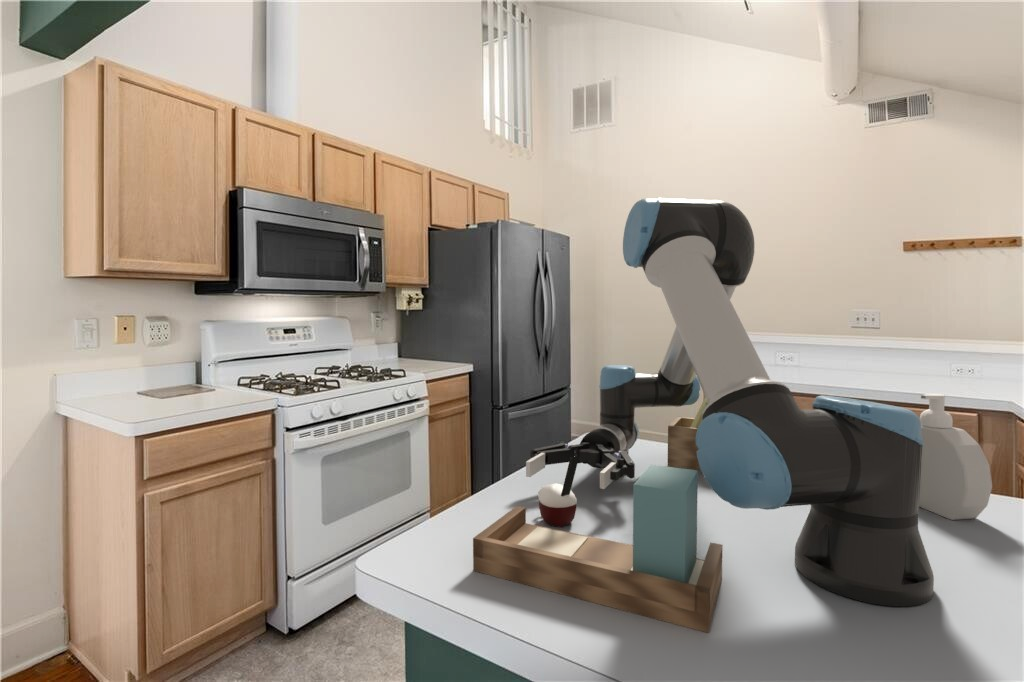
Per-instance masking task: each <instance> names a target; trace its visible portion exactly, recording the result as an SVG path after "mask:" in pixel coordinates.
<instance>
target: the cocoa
mask: <svg viewBox="0 0 1024 682" xmlns="http://www.w3.org/2000/svg"><path fill="white" fill-rule="evenodd" d="M578 460H579V457H575V456H574V457H571V458H570V461H569V462H568V466H567V469H566V473H565V478H564V482H563V484H560V483H556V482H555V483H549V484H547V485H544V486H541V488H540V489H539V490H538V492H537V494H538V495H537V496H538V509H539V513H540V516H541V518H542V519H543V521H544V522H545V523H547V525H549V524H550V526H552V525H553V527H564V525H565V526H568V525H569V524H570V523H572V522H573V521H574V519H575V516H576V512H577V504H578V503H577V502H578V501H577V500H578V499H577V497H576V495H575V493H574V492H573V491H572V488H573V487H572V486H573V483H574V479H575V475H576V470H577V466H578V464H579V463H578ZM577 463H578V464H577Z"/></svg>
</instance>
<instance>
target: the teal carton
mask: <svg viewBox="0 0 1024 682" xmlns="http://www.w3.org/2000/svg"><path fill="white" fill-rule="evenodd" d="M698 477H699V470H694V469H686V468H679V467H671V466H665V465H656V464H649V466H648V467H647V468H646V469H645V471H644V472H643V473H642V474H641V475H640V476H639V478H638V479H636V481H635V482H634V483H633V489H632V492H633V496H632V497H633V498H632V499H633V500H632V501H633V502H632V503H633V504H632V512H633V513H632V516H633V517H632V518H633V519H632V521H633V522H632V545H633V571H636V572H641V573H645V574H650V575H654V576H658V577H663V578H667V579H672V580H676V581H680V582H685V583H689V580H690V577H691V574H692V572H693V569H694V566H695V563H696V558H697V549H698V548H697V546H698V545H697V544H698V543H697V542H698V541H697V540H698V539H697V538H698V533H697V532H698V486H699V485H698V484H699V482H698V481H699V478H698Z"/></svg>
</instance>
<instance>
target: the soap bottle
mask: <svg viewBox="0 0 1024 682" xmlns="http://www.w3.org/2000/svg"><path fill="white" fill-rule="evenodd" d="M945 397H946V395H945V394H940V393H927V394H921V395H920V399H921V400H928V401H929V403H928V405H929V406H928V409H925V410H923V411H922V412H921V413H920V415H919V418H920V421H921V435H922V441H923V447H922V458H921V476H920V495H919V508H921V509H924V510H926V511H929V512H931V513H933V514H936V515H938V516H941V517H944V518H945V519H948V520H949V521H954V520H955V521H957V520H970V519H977V517H979V515H980V514H982V512H983V511H984V510H985V509H986V508H987V507H988V504H989V500H990V497H991V494H992V490H993V482H992V475H991V474H992V473H991V467H990V464H989V461H988V459H987V457H986V455H985V453H984V451H983V449H982V447H981V445H980V444H979V442H977V441H976V440H975V439H974V438H973V437H972V435H971V434H969V433H968V432H967V431H966V430H965V429H963V428H958V427H953V421H954V419H953V416H952V415H951V413H950V412H947V411H945V400H946V399H945Z"/></svg>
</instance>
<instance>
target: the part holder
mask: <svg viewBox="0 0 1024 682" xmlns="http://www.w3.org/2000/svg"><path fill="white" fill-rule="evenodd" d="M694 419H695V417H683V416H677V417H676V418H675V419H673V420H672V421H671V423H670V424H668V425H667V467H674V468H682V469H689V470H697V471H701V468H700V465H699V462H698V458H697V453H696V452H697V451H698V450H699V449H698V446H697V445H696V433H697V430H698V428H692V427H691V425H692V423H693V421H694Z"/></svg>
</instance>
